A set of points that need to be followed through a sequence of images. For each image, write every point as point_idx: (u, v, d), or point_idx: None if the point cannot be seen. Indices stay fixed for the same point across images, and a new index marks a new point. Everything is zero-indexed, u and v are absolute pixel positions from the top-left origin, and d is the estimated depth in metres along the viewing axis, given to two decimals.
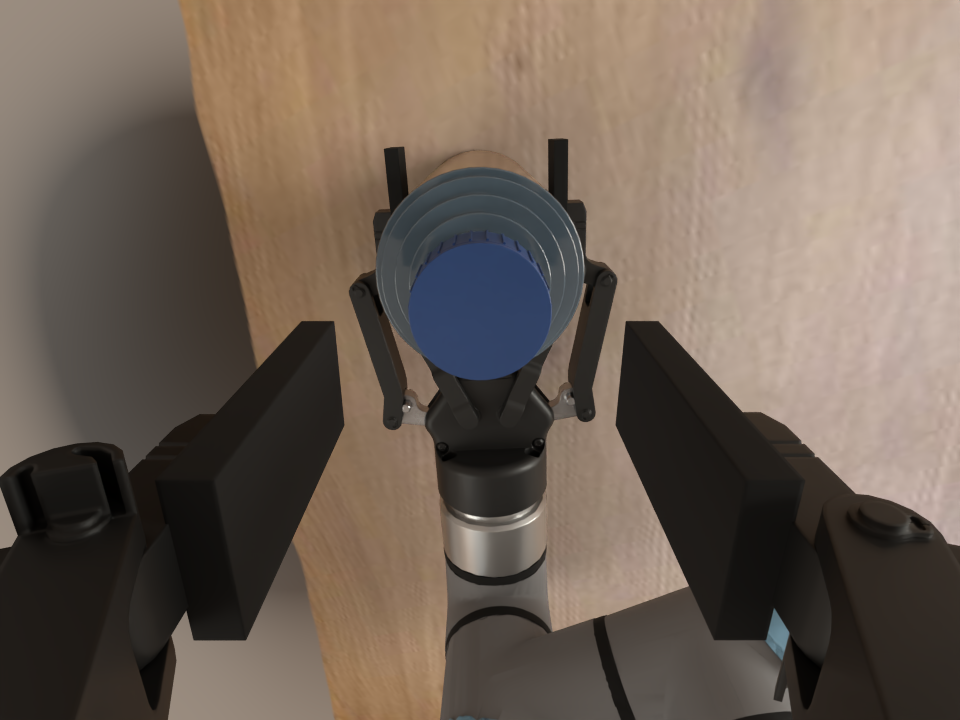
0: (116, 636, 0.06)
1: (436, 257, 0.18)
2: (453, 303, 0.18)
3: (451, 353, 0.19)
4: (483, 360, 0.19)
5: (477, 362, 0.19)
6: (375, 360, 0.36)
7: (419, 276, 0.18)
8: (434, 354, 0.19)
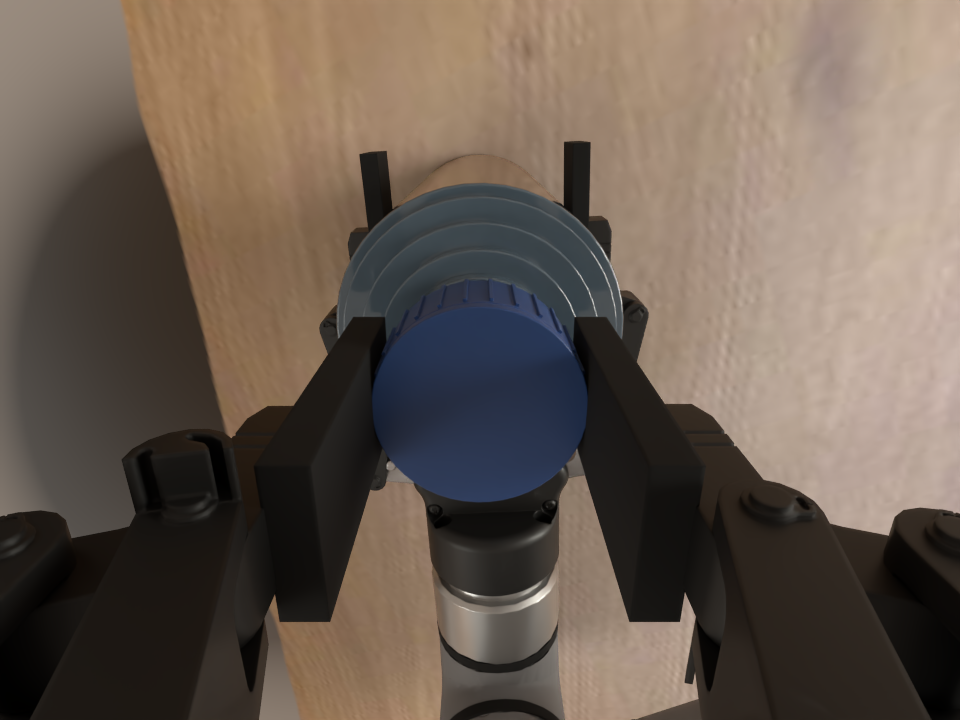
0: (225, 619, 0.06)
1: (412, 328, 0.11)
2: (439, 395, 0.12)
3: (437, 465, 0.13)
4: (484, 475, 0.13)
5: (475, 478, 0.13)
6: None
7: (386, 356, 0.12)
8: (411, 467, 0.13)
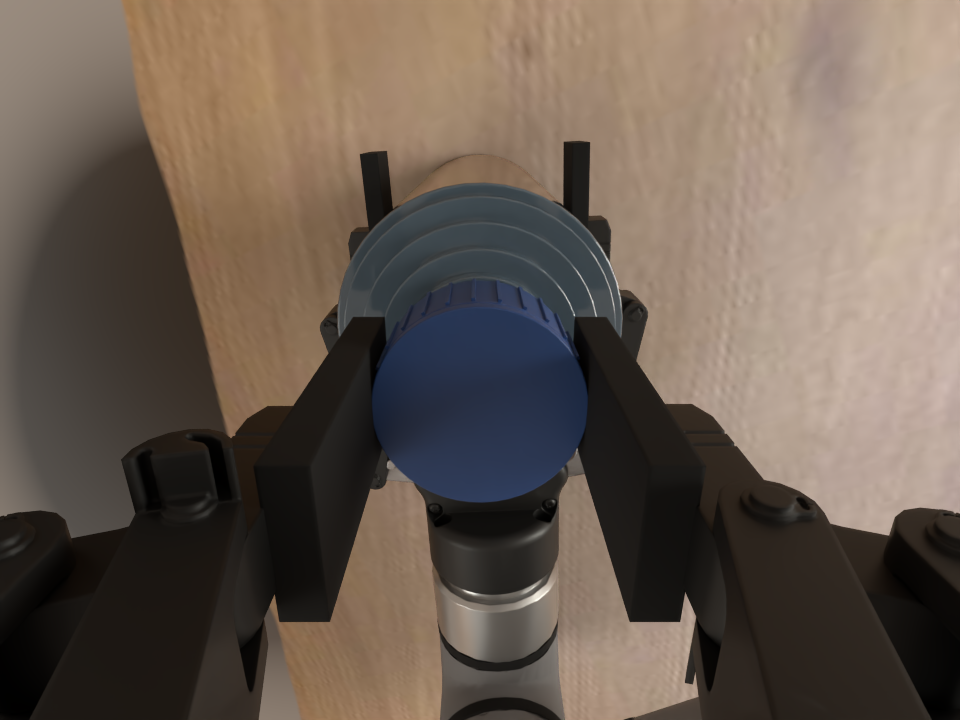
0: (224, 619, 0.06)
1: (432, 490, 0.13)
2: (481, 450, 0.12)
3: (555, 422, 0.12)
4: (546, 377, 0.12)
5: (553, 384, 0.12)
6: None
7: (466, 500, 0.13)
8: (566, 443, 0.12)
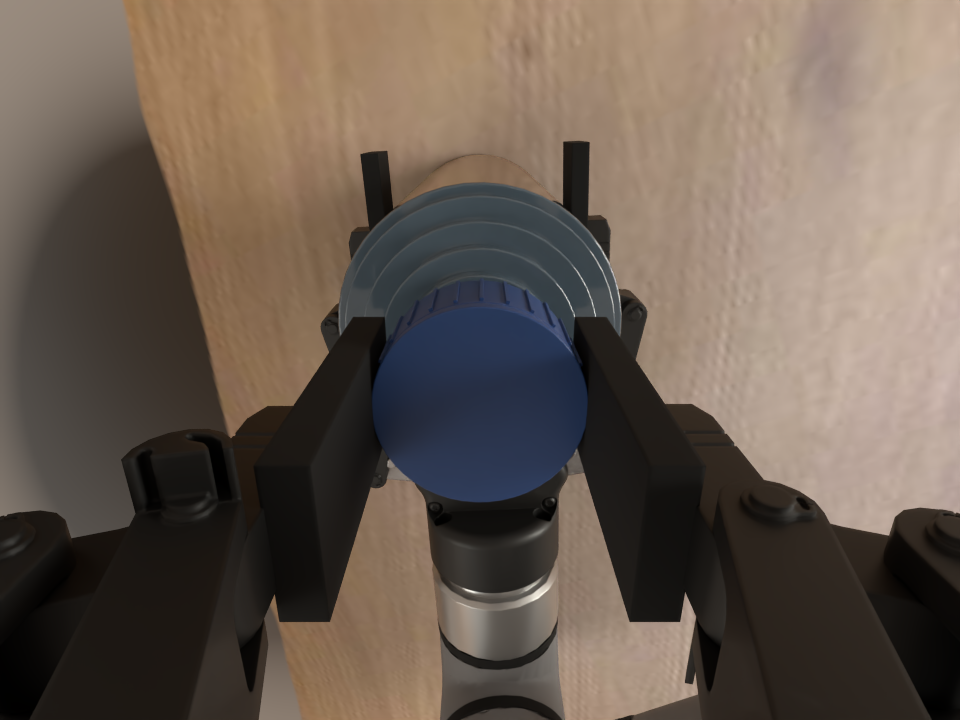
0: (224, 619, 0.06)
1: (586, 413, 0.12)
2: (519, 393, 0.12)
3: (457, 341, 0.12)
4: (416, 372, 0.12)
5: (419, 364, 0.12)
6: None
7: (583, 379, 0.12)
8: (473, 320, 0.11)
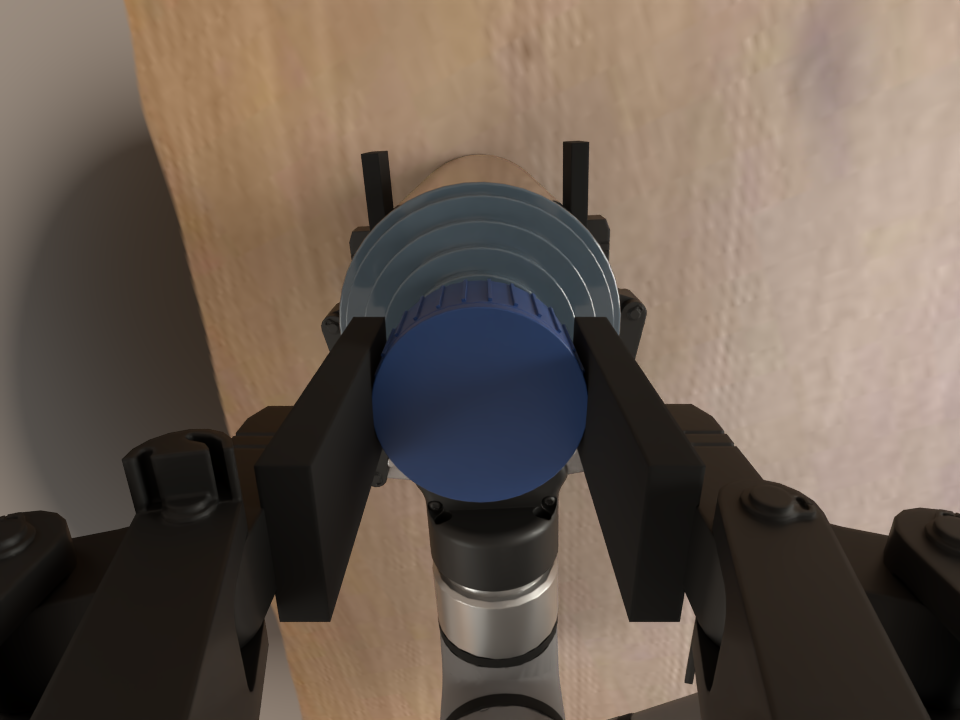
0: (225, 619, 0.06)
1: (433, 316, 0.11)
2: (444, 387, 0.12)
3: (424, 456, 0.13)
4: (469, 474, 0.13)
5: (459, 475, 0.13)
6: None
7: (401, 338, 0.12)
8: (398, 452, 0.12)
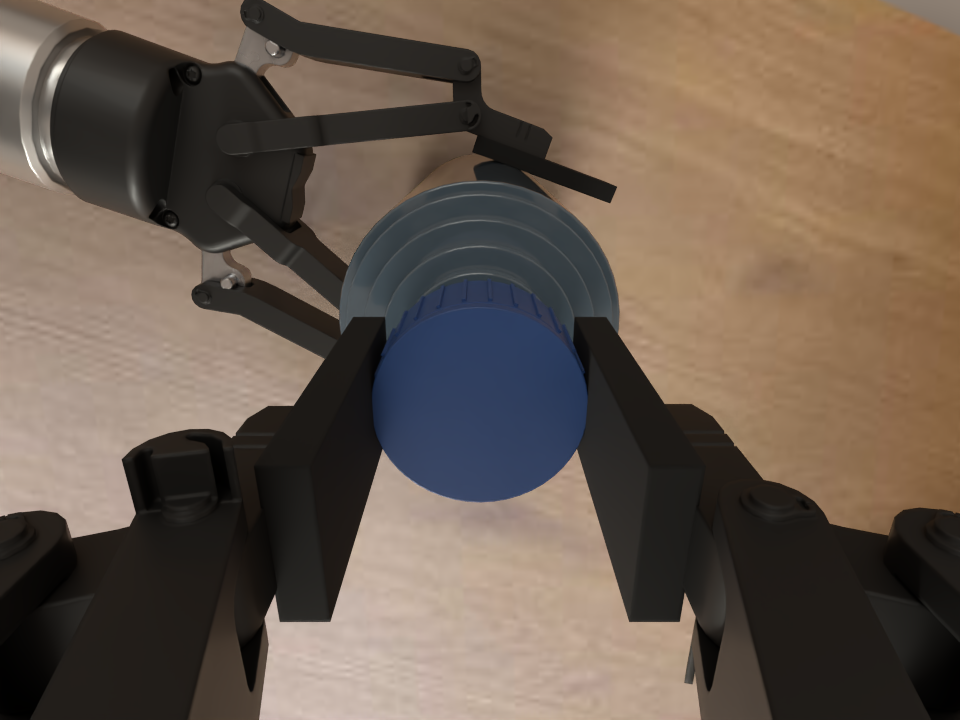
0: (225, 619, 0.06)
1: (434, 316, 0.11)
2: (444, 387, 0.12)
3: (424, 456, 0.13)
4: (469, 474, 0.13)
5: (459, 475, 0.13)
6: (362, 38, 0.24)
7: (401, 338, 0.12)
8: (398, 452, 0.12)
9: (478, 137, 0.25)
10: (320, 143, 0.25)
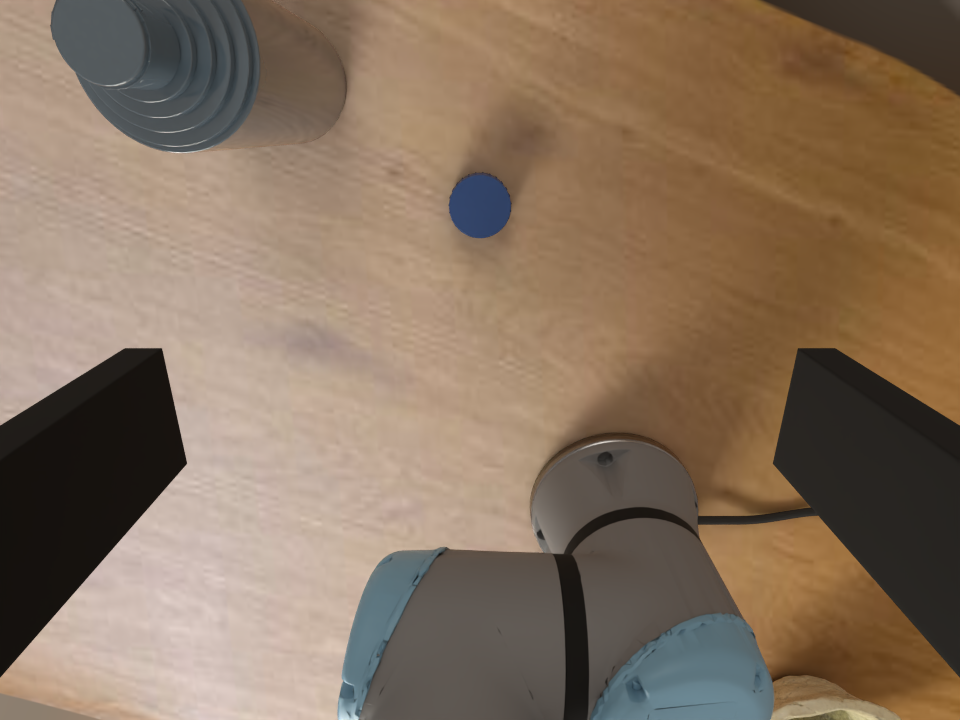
0: None
1: (467, 177, 0.42)
2: (470, 199, 0.43)
3: (464, 222, 0.43)
4: (476, 228, 0.43)
5: (474, 228, 0.43)
6: None
7: (458, 184, 0.42)
8: (456, 220, 0.43)
9: None
10: None
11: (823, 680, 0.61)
